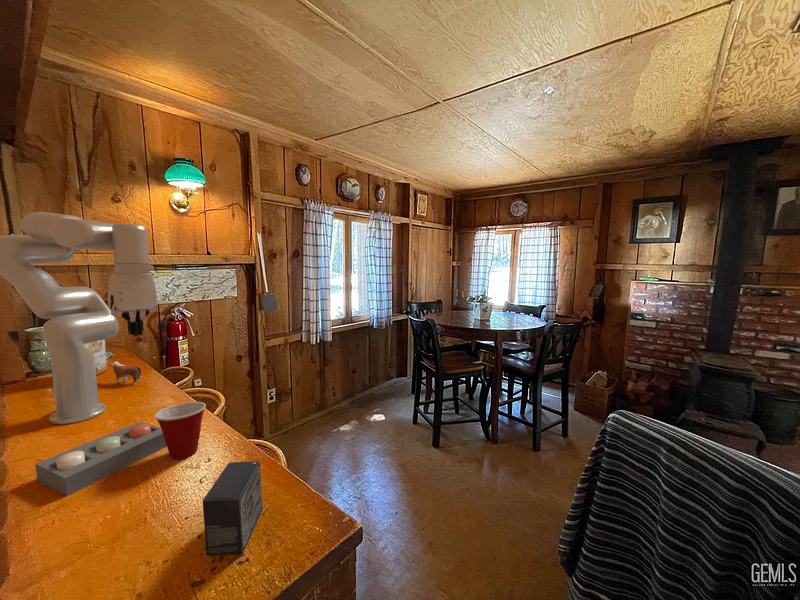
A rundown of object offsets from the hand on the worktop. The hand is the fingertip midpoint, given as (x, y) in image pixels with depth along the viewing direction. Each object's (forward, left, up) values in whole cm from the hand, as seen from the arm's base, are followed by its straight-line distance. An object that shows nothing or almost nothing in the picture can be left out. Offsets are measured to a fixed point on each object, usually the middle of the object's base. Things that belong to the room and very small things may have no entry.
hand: (136, 334), depth 93 cm
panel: (+10, -13, -28) cm, 33 cm away
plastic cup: (+23, -4, -28) cm, 37 cm away
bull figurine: (-43, +19, -28) cm, 54 cm away
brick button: (+10, -6, -27) cm, 30 cm away
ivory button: (+10, -20, -27) cm, 36 cm away
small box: (+55, -16, -28) cm, 64 cm away
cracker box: (-64, +17, -28) cm, 71 cm away
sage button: (+10, -13, -27) cm, 32 cm away
